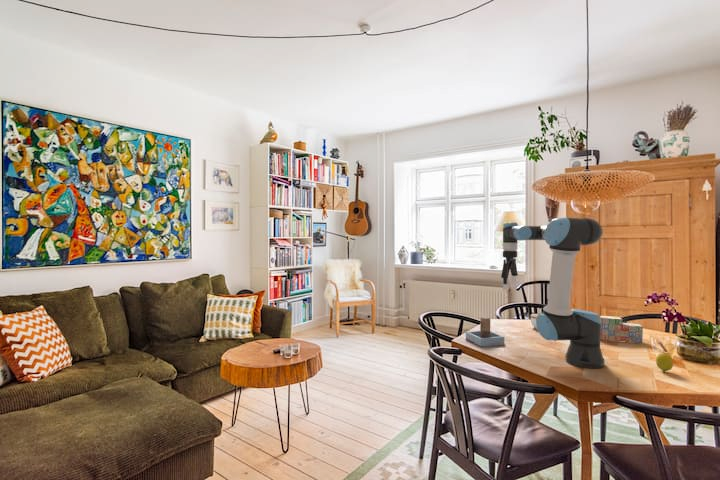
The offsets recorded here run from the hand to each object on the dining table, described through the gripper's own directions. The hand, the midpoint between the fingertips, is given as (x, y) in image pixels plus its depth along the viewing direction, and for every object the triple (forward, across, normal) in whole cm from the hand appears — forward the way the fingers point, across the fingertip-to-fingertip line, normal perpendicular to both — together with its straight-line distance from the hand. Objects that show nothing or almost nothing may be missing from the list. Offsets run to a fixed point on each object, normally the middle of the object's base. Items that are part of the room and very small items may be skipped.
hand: (509, 288), depth 212 cm
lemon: (+27, +13, +68) cm, 74 cm away
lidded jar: (+27, -30, +9) cm, 42 cm away
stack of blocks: (+27, -30, +48) cm, 63 cm away
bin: (+27, +18, -7) cm, 33 cm away
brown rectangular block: (+26, +18, -7) cm, 33 cm away
